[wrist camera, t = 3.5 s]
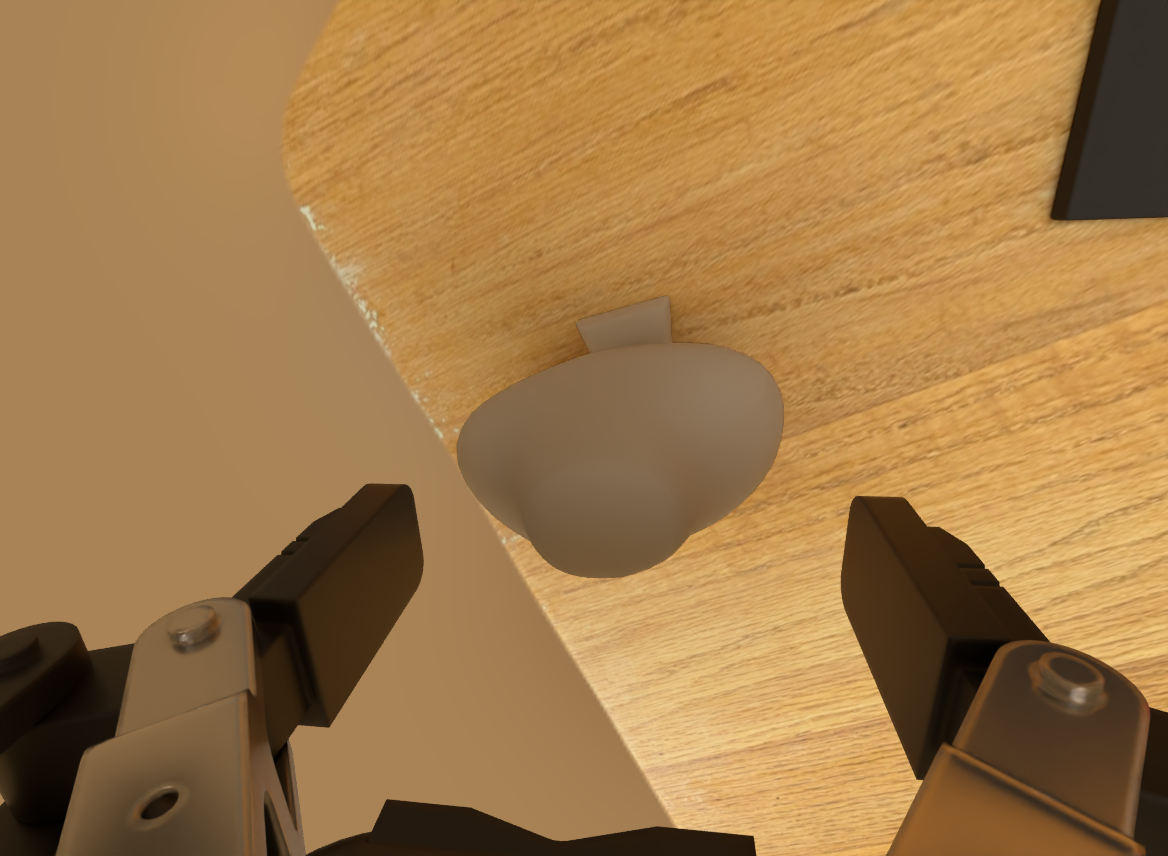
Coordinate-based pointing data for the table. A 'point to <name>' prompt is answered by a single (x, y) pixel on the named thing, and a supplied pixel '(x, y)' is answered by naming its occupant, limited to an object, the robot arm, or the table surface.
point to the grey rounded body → (624, 444)
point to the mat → (1121, 119)
